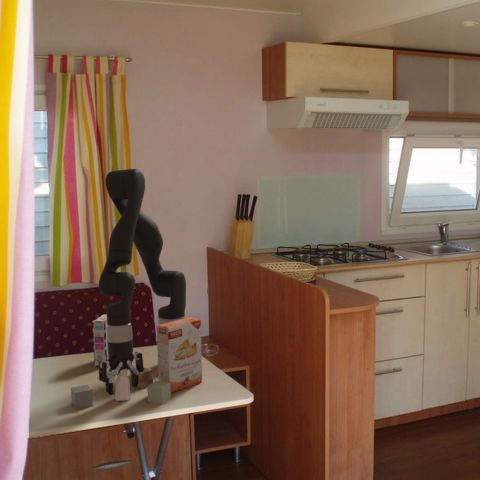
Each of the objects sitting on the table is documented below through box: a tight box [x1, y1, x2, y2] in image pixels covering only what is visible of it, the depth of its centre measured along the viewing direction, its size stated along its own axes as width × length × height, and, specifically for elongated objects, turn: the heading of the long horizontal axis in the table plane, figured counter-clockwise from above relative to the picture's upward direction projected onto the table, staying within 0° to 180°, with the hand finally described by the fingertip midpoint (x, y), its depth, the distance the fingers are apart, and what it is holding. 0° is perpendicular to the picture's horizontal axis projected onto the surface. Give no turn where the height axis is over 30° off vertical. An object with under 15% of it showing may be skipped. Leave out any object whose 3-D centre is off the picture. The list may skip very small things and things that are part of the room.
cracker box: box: [156, 316, 203, 394], centre depth 209 cm, size 14×6×21 cm, turn 137°
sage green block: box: [146, 380, 172, 405], centre depth 199 cm, size 5×5×5 cm
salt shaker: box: [114, 368, 131, 402], centre depth 200 cm, size 4×4×10 cm
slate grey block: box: [70, 384, 94, 410], centre depth 197 cm, size 5×5×5 cm
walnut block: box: [129, 367, 154, 390], centre depth 212 cm, size 5×5×5 cm
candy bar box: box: [91, 314, 109, 368], centre depth 237 cm, size 11×5×16 cm, turn 172°
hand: (122, 390), depth 201 cm, fingers open, 8 cm apart
